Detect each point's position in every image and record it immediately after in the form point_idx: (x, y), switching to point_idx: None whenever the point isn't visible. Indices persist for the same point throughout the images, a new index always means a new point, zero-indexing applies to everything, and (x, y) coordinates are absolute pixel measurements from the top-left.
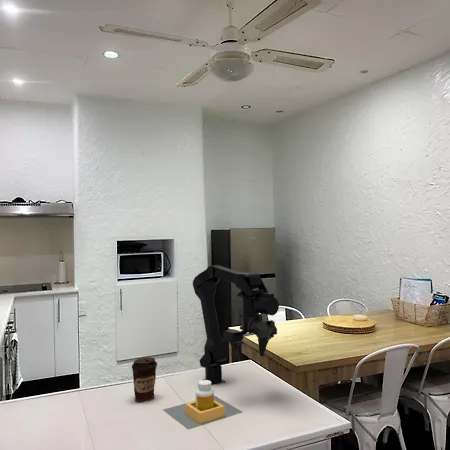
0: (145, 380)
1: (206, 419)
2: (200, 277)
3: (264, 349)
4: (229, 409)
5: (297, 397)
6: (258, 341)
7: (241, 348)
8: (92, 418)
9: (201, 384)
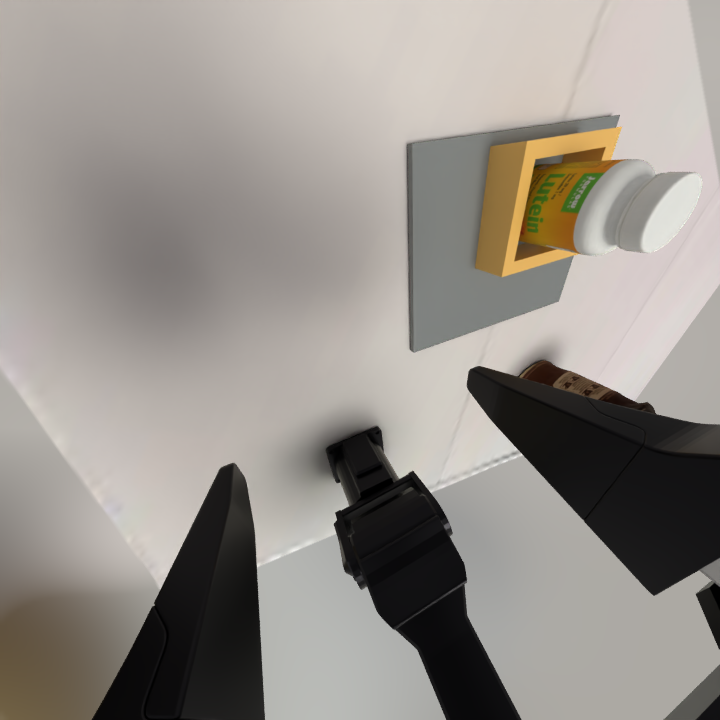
0: (603, 387)
1: (568, 134)
2: None
3: (201, 542)
4: (439, 208)
5: None
6: (260, 686)
7: (613, 429)
8: (631, 317)
9: (699, 190)
